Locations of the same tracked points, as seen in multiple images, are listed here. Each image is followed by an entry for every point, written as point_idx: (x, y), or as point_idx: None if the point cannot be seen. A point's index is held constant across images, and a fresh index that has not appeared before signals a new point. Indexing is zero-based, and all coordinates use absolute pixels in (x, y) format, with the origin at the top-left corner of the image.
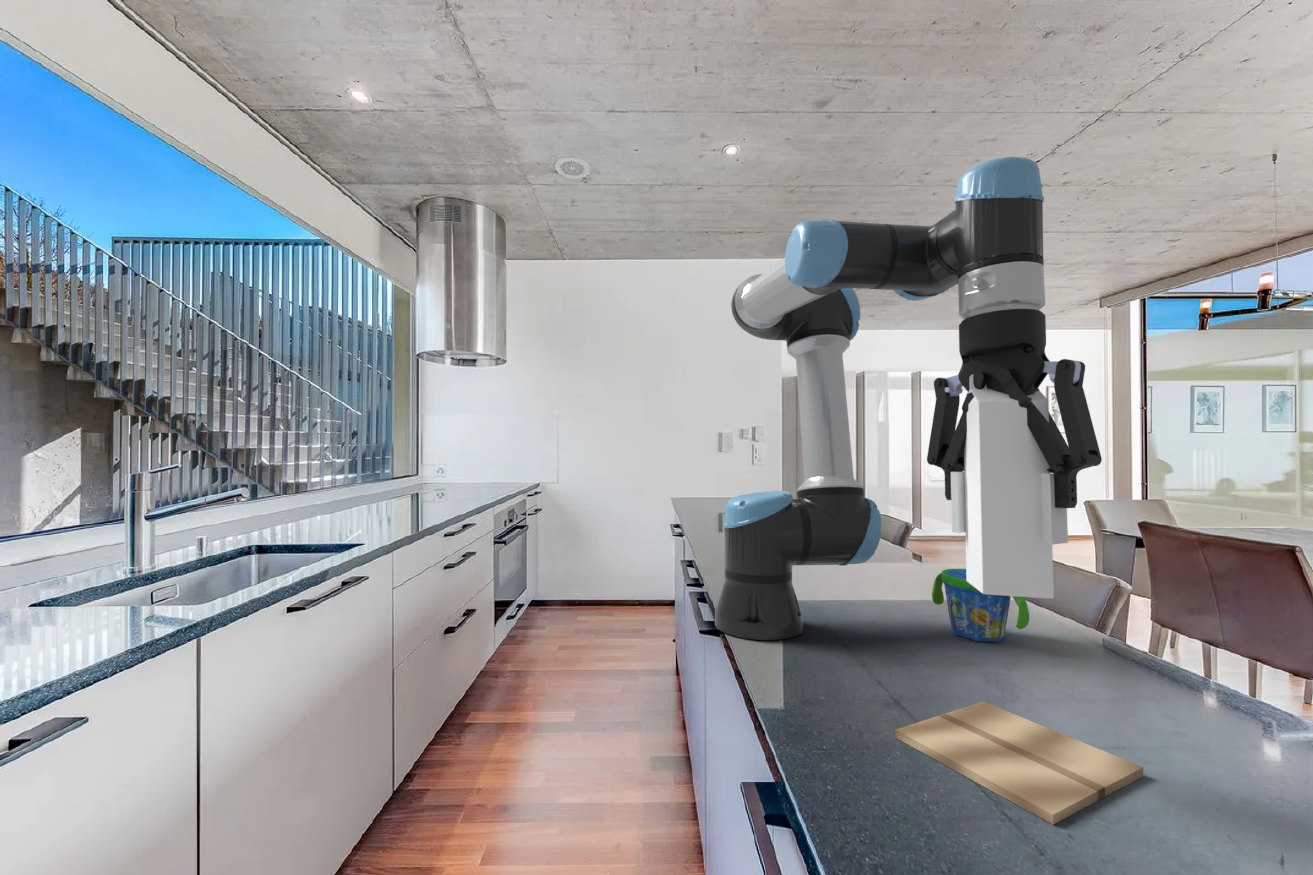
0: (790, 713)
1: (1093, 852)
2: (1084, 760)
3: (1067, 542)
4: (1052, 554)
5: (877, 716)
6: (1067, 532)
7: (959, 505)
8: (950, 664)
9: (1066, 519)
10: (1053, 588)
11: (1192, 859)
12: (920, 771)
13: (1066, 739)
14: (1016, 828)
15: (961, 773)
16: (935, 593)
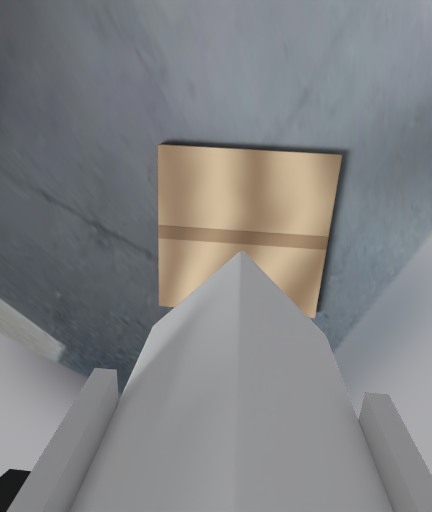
0: (77, 348)
1: (343, 321)
2: (298, 197)
3: (388, 397)
4: (349, 397)
5: (119, 279)
6: (399, 416)
7: None
8: (24, 10)
9: (417, 455)
10: (329, 345)
11: (394, 269)
12: None
13: (267, 161)
14: None
15: None
16: None
